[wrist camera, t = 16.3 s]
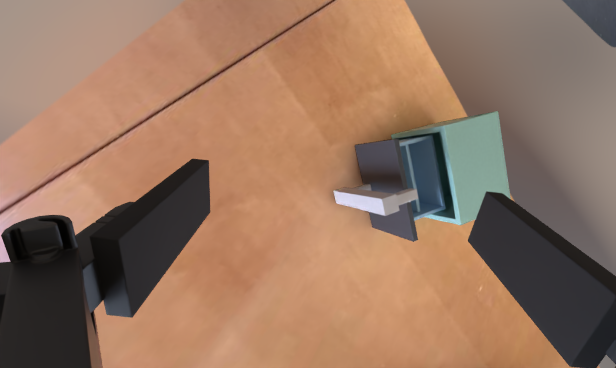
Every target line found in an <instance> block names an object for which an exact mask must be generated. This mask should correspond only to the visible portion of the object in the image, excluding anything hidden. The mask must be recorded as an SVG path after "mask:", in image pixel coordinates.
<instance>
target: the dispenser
mask: <svg viewBox="0 0 616 368" xmlns="http://www.w3.org/2000/svg"><path fill="white" fill-rule="evenodd" d="M431 134H433V140H434V145H435V151H436V157H437V163H438V168H439V174H440V180H441V185H442V191H443V197H444V202H445V209H443V210H440V211H438V212H435V213H433V214H430V215H427V216H425V217H426V218H431V219H436V220H440V221H445V222H449V223H454V224H458V225H463V224H465V223H468V222H470V221H472V220H475V219H476V217H477V214H478V212H479V209H480V206H481V204H482V201H483V198H484V196H485V193H486V191H488V192H497V193H503V194H504V195H506V196H507V197H508V198H510V192H509V185H508V178H507V171H506V165H505V157H504V150H503V143H502V137H501V130H500V122H499V115H498V111H496V112H491V113H486V114H481V115H475V116H470V117H464V118H459V119H454V120H448V121H443V122H438V123H434V124H430V125H426V126H422V127H418V128H415V129H411V130H407V131H403V132H399V133H395V134H392V135H391V136H392V139H399V140H402V139H406V138H410V137H417V136H424V135H431Z"/></svg>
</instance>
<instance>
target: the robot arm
mask: <svg viewBox="0 0 616 368" xmlns="http://www.w3.org/2000/svg"><path fill="white" fill-rule="evenodd" d="M209 213H210V188H209V160H200V159H191V160H190V161H189V162H187V163H186V164H185V165H183V166H182V167H181V168H179V169H178V170H177V171H175V172H174V173H173V174H171V175H170V176H169V177H167V178H166V179H165V180H164V181H162V182H161V183H160V184H158V185H157V186H156V187H154V188H153V189H152V190H150V191H149V192H148V193H146V194H145V195H144V196H142V197H141V198H140V199H138V200H137V201H136V202H128V203H125V204H123V205H120V206H118V207H115V208H114V209H112V210H111V211H109V212H108V213H107V214H105V216H102V217H101V218H100V219H98V220H97V221H96V223H92V224H91V225H90V226H88V227H87V228H85V229H84V230H83V231H81V232H80V233H78V234H77V235H76V236H75V233H74V229H73V225H72V221H71V220H70V218H68V217H65V216H62V215H47V216H39V217H34V218H30V219H26V220H24V221H21V222H18V223H16V224H14V225H12V226H10V227H9V228H7V229H5V231H4V232H3V233H2V235H1V236H2V239H3V242H4V244H5V247H6V250H7V253H8V255H9V258H10V261H11V262H3V263H0V368H103V367H102V360H101V353H100V346H99V339H98V332H97V325H96V318H95V314H94V309H95V308H96V307H97V306H98V305H99V304H100V303H101V302H102V301H103V300H104V305H105V309H106V314H107V315H114V316H123V317H133V316H134V315H135V313H136V312H137V310H138V309H139V308H140V306H141V305H142V304H143V302H144V301H145V300H146V298H147V297H148V296H149V294H150V293H151V291H152V290H153V289H154V287H155V286H156V285H157V283H158V282H159V281H160V279H161V278H162V277H163V275H164V274H165V273H166V271H167V270H168V268H169V267H170V266H171V264H172V263H173V262H174V260H175V259H176V258H177V256H178V255H179V254H180V252H181V251H182V250H183V248H184V247H185V245H186V244H187V243H188V241H189V240H190V239H191V237H192V236H193V235H194V233H195V232H196V231H197V229H198V228H199V227H200V225H201V224H202V222H203V221H204V220H205V218H206V217H207V216H208V214H209ZM468 242H469V243H470V244H471V245H472V247H473V248H474V249H475V250H476V251H477V253H478V254H479V255H480V256H481V258H482V259H483V260H484V261H485V263H486V264H487V265H488V266H489V267H490V269H491V270H492V271H493V272H494V274H495V275H496V276H497V277H498V279H499V280H500V281H501V282H502V284H503V285H504V286H505V287H506V288H507V290H508V291H509V292H510V293H511V295H512V296H513V297H514V298H515V300H516V301H517V302H518V303H519V304H520V306H521V307H522V308H523V309H524V311H525V312H526V313H527V314H528V316H529V317H530V318H531V319H532V321H533V322H534V323H535V324H536V325H537V327H538V328H539V329H540V330H541V332H542V333H543V334H544V335H545V337H546V338H547V339H548V340H549V341H550V343H551V344H552V345H553V346H554V348H555V349H556V350H557V351H558V353H559V354H560V355H561V356H562V357H563V359H564V360H565V361H566V362H567V364H568V365H569V366H571V367H580V368H597V366H598V365H599V363H600V362H601V361H602V359H603V358H604V356H605V355H607V356H608V357H609V358H610V359H611V360H612V361H613V362H614V363H615V364H616V276H615V275H613V274H612V273H610V272H609V271H608V270H606V269H605V268H604V267H602V266H601V265H599V264H598V263H597V262H595V261H594V260H593V259H591V258H590V257H589V256H587V255H586V254H585V253H583V252H582V251H581V250H579V249H578V248H576V247H575V246H574V245H572V244H571V243H570V242H568V241H567V240H565V239H564V238H563V237H561V236H560V235H559V234H557V233H556V232H554V231H553V230H552V229H551V228H549V227H548V226H546V225H545V224H544V223H542V222H541V221H539V220H538V219H537V218H535V217H534V216H533V215H531V214H530V213H529V212H527V211H526V210H525V209H523V208H522V207H520V206H519V205H518V204H516V203H515V202H514V201H512V200H511V199H510V198H508V197H507V196H506V195H504V194H503V193H497V192H488V191H486V193H485V196H484V198H483V201H482V204H481V206H480V209H479V212H478V214H477V217H476V220H475V222H474V225H473V228H472V231H471V233H470V236H469V239H468ZM615 368H616V367H615Z"/></svg>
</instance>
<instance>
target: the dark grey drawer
mask: <svg viewBox="0 0 616 368" xmlns="http://www.w3.org/2000/svg"><path fill="white" fill-rule="evenodd" d="M355 149H356V153H357V158H358V163H359V167H360V172H361V177H362V181H363V185H361V186H358V187H355V188H347V187H344V188H340V189H337V190H334V195H335V200H336V203H337V204H341V205H345V206H349V207H353V208H357V209H361V210H364V211H368V212H369V214H370V219H371V223H372V227H373V228H376V229H379V230H381V231H384V232H387V233H390V234H393V235H396V236H399V237H402V238H405V239H408V240H410V241H413V242H414V241H416V240H418V237H417V232H416V227H415V222H414V221H415V220H417V219H420V218H422V217H425V216H427V215H430V214H433V213H435V212H438V211H440V210H443V209H445V202H444V197H443V191H442V185H441V180H440V174H439V168H438V163H437V157H436V151H435V145H434V140H433V134H431V135H424V136H417V137H410V138H406V139H402V140H399V139H391V140H384V141H377V142H370V143H364V144H358V145H355Z"/></svg>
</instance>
